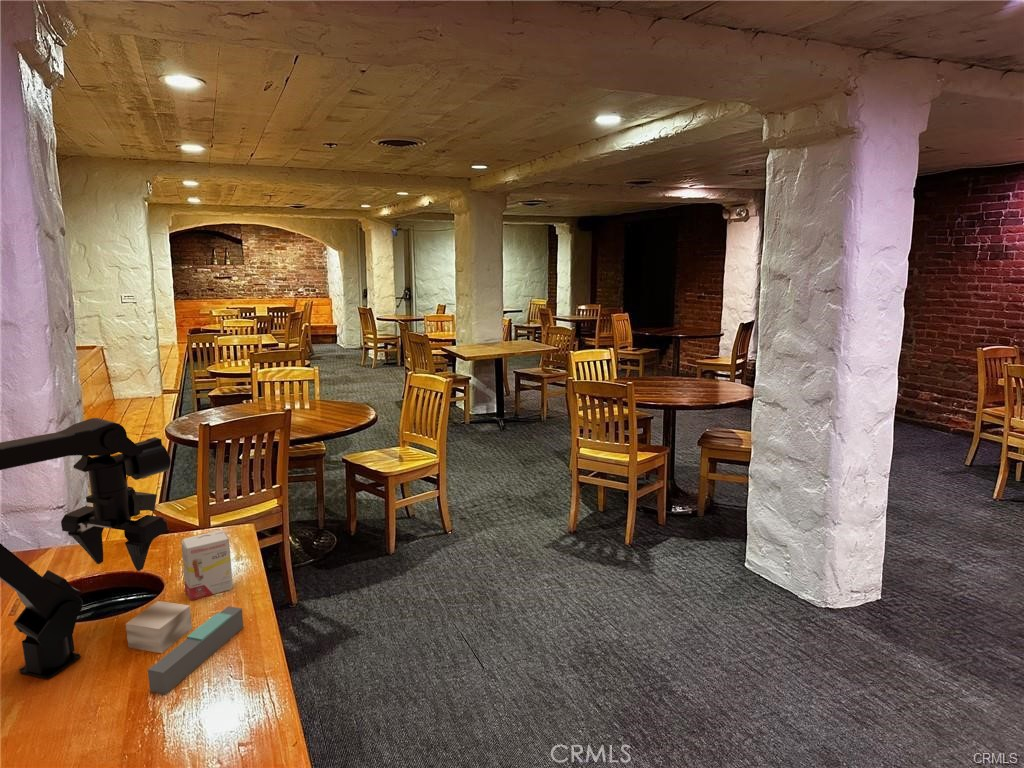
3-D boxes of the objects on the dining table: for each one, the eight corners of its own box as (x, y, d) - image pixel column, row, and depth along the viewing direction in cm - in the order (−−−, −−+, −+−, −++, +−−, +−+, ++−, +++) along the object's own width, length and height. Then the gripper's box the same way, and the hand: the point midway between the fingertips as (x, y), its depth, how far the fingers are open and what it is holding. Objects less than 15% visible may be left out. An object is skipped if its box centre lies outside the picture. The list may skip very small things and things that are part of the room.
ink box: (190, 601, 136) (184, 548, 133) (184, 591, 140) (179, 539, 137) (233, 589, 141) (229, 537, 138) (227, 579, 145) (223, 529, 142)
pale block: (161, 654, 119) (159, 629, 118) (128, 648, 120) (125, 623, 119) (192, 629, 127) (189, 605, 126) (160, 624, 128) (157, 600, 127)
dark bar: (165, 694, 108) (163, 670, 107) (149, 691, 109) (147, 667, 108) (243, 627, 127) (242, 606, 126) (229, 625, 128) (227, 604, 127)
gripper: (185, 477, 125) (193, 553, 128) (105, 467, 130) (115, 541, 133) (137, 499, 115) (148, 582, 118) (53, 487, 119) (65, 567, 123)
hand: (119, 566), depth 123 cm, fingers open, 9 cm apart
